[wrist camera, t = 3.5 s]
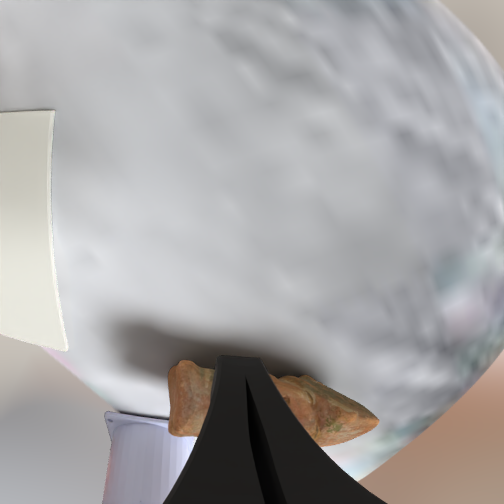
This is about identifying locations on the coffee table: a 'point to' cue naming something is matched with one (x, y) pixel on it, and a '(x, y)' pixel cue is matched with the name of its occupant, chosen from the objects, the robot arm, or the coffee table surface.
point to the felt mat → (28, 232)
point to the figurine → (292, 390)
